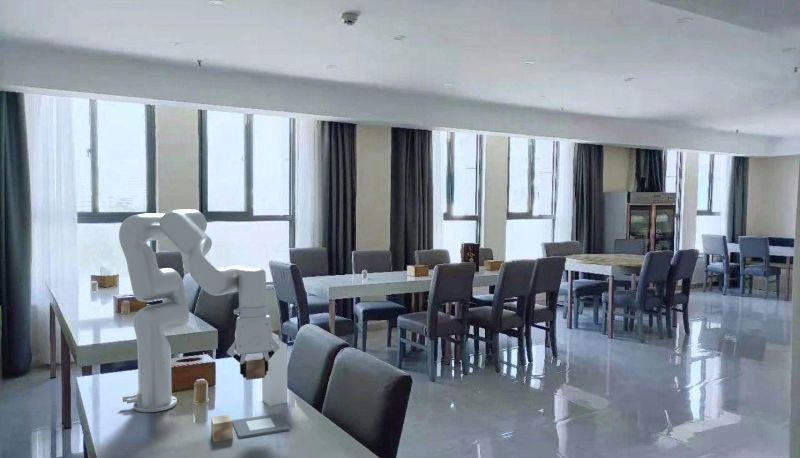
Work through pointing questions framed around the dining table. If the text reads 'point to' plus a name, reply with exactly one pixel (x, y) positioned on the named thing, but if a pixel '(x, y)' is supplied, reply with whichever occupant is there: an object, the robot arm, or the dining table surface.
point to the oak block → (221, 428)
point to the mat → (260, 425)
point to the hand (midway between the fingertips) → (254, 374)
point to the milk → (276, 376)
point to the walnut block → (255, 367)
